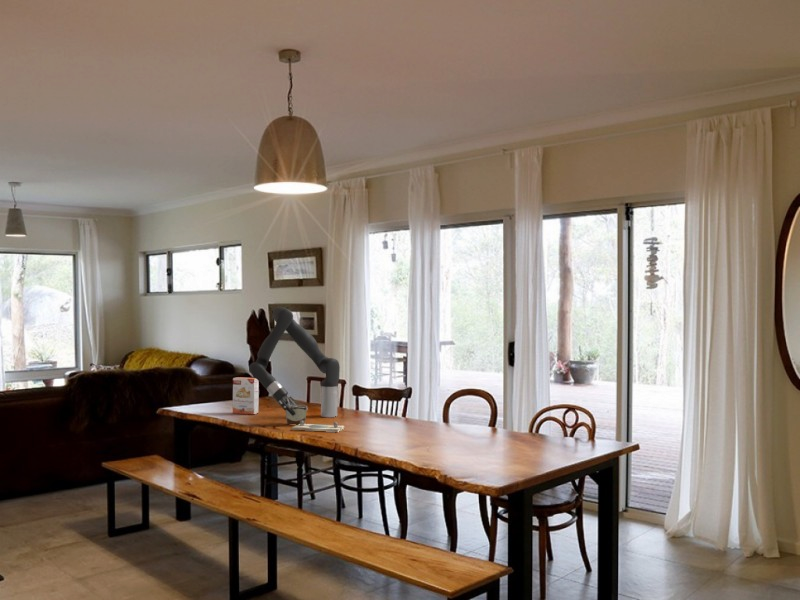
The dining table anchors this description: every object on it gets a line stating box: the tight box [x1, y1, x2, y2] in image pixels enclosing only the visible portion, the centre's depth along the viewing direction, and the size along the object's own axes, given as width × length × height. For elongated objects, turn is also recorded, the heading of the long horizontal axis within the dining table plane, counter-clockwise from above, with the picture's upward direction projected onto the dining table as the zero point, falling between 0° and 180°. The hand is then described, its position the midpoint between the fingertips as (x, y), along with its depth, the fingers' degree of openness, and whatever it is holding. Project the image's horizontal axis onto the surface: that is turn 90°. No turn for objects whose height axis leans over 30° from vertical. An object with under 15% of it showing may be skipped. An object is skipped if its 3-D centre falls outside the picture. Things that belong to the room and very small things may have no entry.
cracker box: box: [232, 376, 260, 415], centre depth 396 cm, size 14×6×21 cm, turn 73°
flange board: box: [291, 421, 345, 433], centre depth 346 cm, size 12×24×4 cm, turn 78°
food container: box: [285, 404, 308, 426], centre depth 361 cm, size 12×6×10 cm, turn 84°
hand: (297, 413), depth 361 cm, fingers open, 8 cm apart
